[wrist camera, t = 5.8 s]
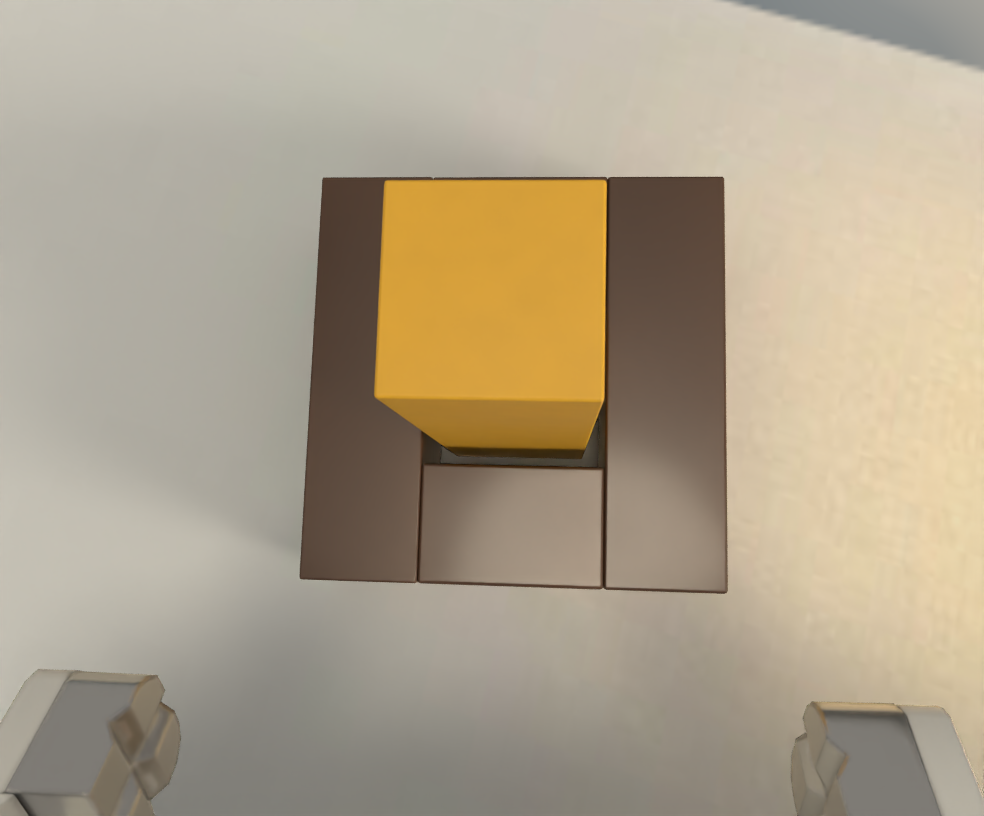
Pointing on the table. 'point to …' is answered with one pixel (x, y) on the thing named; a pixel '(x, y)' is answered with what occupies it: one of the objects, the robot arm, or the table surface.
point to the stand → (533, 489)
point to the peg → (494, 313)
